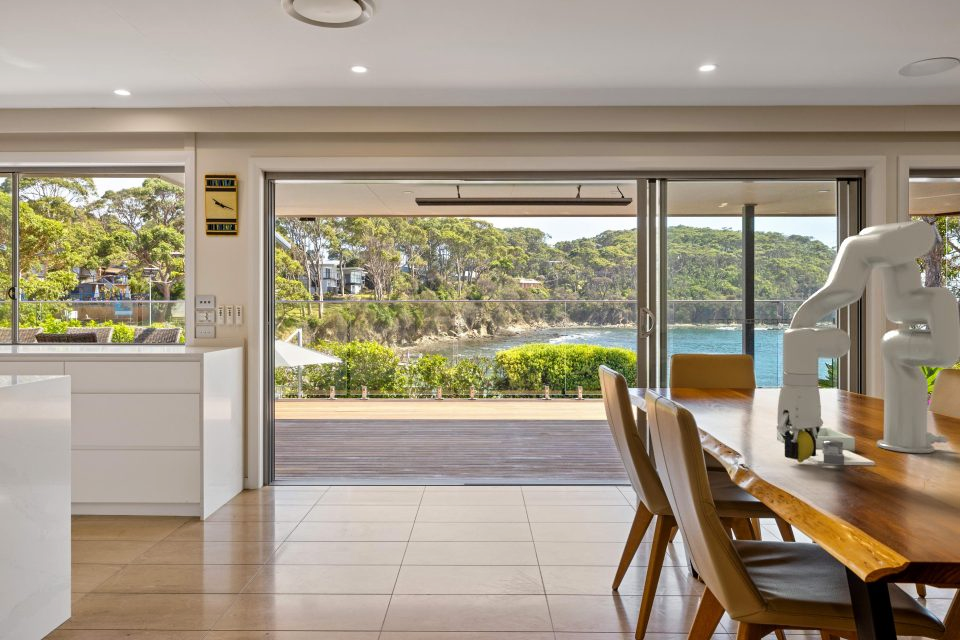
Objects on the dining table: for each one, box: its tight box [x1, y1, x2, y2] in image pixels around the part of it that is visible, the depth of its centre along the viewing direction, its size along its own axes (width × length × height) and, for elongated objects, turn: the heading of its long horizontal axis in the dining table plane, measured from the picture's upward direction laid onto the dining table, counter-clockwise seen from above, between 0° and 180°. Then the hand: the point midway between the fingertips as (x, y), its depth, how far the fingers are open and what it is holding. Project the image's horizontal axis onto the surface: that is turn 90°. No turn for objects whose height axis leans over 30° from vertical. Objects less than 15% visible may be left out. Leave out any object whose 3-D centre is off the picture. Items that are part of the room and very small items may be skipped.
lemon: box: [791, 430, 814, 463], centre depth 150 cm, size 6×6×8 cm
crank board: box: [807, 449, 876, 466], centre depth 156 cm, size 13×13×1 cm
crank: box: [822, 440, 845, 466], centre depth 150 cm, size 17×4×3 cm, turn 152°
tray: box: [776, 427, 856, 452], centre depth 172 cm, size 14×14×4 cm
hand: (800, 455), depth 150 cm, fingers closed on lemon, 5 cm apart
